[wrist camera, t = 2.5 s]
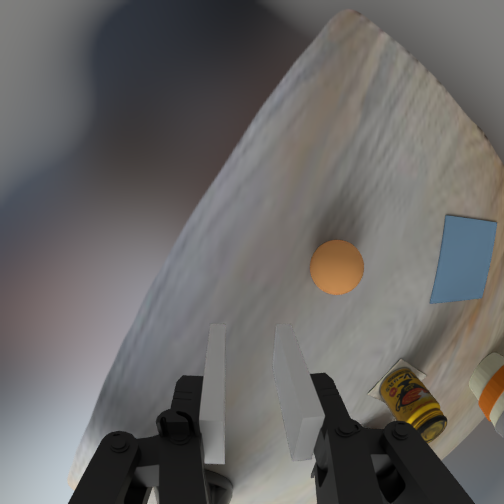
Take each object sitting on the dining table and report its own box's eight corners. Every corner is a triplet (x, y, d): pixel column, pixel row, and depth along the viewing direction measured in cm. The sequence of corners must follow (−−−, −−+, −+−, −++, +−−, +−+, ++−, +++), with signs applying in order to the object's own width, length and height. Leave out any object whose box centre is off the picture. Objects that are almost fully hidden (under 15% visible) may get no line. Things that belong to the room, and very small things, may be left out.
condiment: (400, 357, 36) (441, 410, 24) (426, 375, 38) (463, 420, 26) (366, 393, 37) (397, 450, 26) (395, 406, 39) (426, 455, 27)
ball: (302, 283, 32) (315, 304, 26) (306, 233, 30) (321, 246, 25) (348, 283, 32) (367, 302, 27) (354, 235, 31) (376, 248, 25)
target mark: (429, 303, 34) (430, 303, 34) (445, 215, 31) (446, 215, 31) (480, 297, 35) (481, 298, 35) (496, 222, 32) (497, 222, 31)
